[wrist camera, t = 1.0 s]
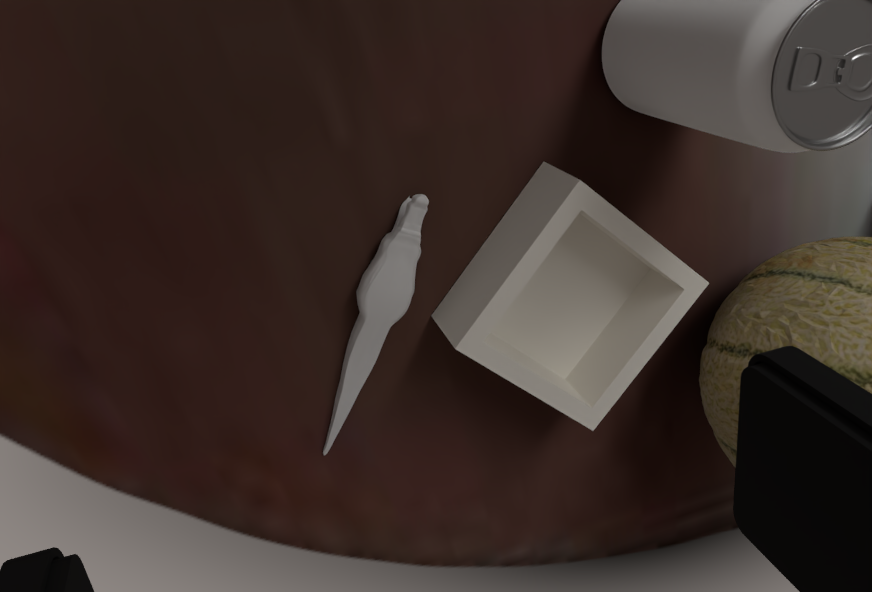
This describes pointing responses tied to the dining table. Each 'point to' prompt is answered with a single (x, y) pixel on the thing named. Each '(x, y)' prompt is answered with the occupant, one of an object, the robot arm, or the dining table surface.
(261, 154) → the dining table surface
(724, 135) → the can
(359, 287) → the white long tapered piece
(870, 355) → the cantaloupe
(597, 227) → the can holder
